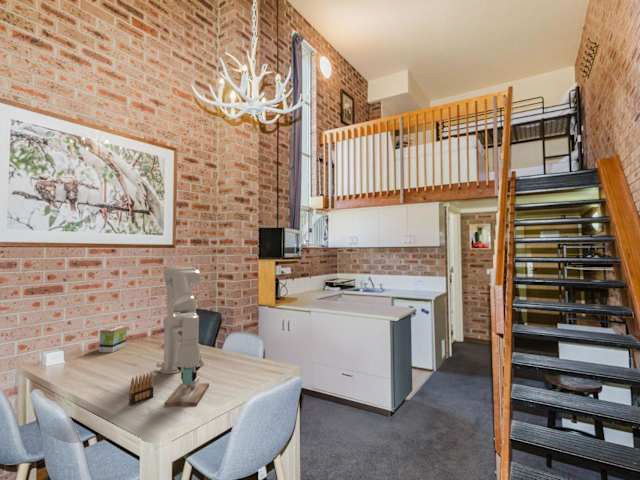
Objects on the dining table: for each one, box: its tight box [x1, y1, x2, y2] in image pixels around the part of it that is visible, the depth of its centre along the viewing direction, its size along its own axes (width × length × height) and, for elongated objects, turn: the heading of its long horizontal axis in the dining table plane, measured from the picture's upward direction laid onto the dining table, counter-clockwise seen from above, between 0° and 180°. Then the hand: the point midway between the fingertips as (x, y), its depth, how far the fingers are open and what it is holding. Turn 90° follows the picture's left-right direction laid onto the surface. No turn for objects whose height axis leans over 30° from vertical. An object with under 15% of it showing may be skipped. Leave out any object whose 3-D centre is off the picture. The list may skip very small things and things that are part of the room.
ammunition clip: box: [128, 371, 154, 406], centre depth 156 cm, size 11×2×12 cm, turn 149°
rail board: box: [163, 376, 210, 407], centre depth 162 cm, size 14×22×5 cm, turn 4°
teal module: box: [182, 367, 195, 385], centre depth 163 cm, size 4×6×7 cm, turn 4°
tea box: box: [98, 325, 128, 353], centre depth 235 cm, size 15×10×15 cm, turn 179°
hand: (188, 379), depth 162 cm, fingers closed on teal module, 4 cm apart
